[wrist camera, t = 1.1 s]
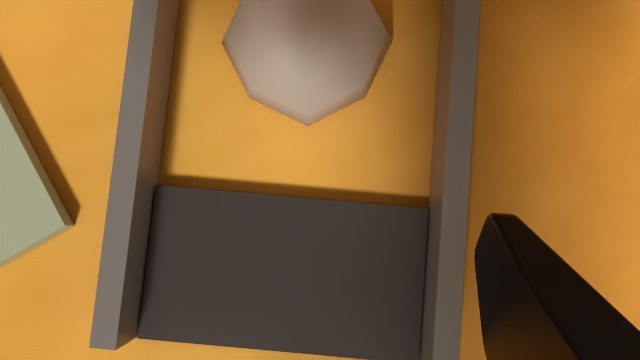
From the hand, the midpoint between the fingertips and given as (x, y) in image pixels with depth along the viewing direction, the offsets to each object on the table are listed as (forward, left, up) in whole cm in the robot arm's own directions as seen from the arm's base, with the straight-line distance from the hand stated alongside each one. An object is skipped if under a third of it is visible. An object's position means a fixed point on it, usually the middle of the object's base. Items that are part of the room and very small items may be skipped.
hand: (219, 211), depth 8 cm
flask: (+4, -7, -14) cm, 16 cm away
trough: (+1, -3, -13) cm, 14 cm away
